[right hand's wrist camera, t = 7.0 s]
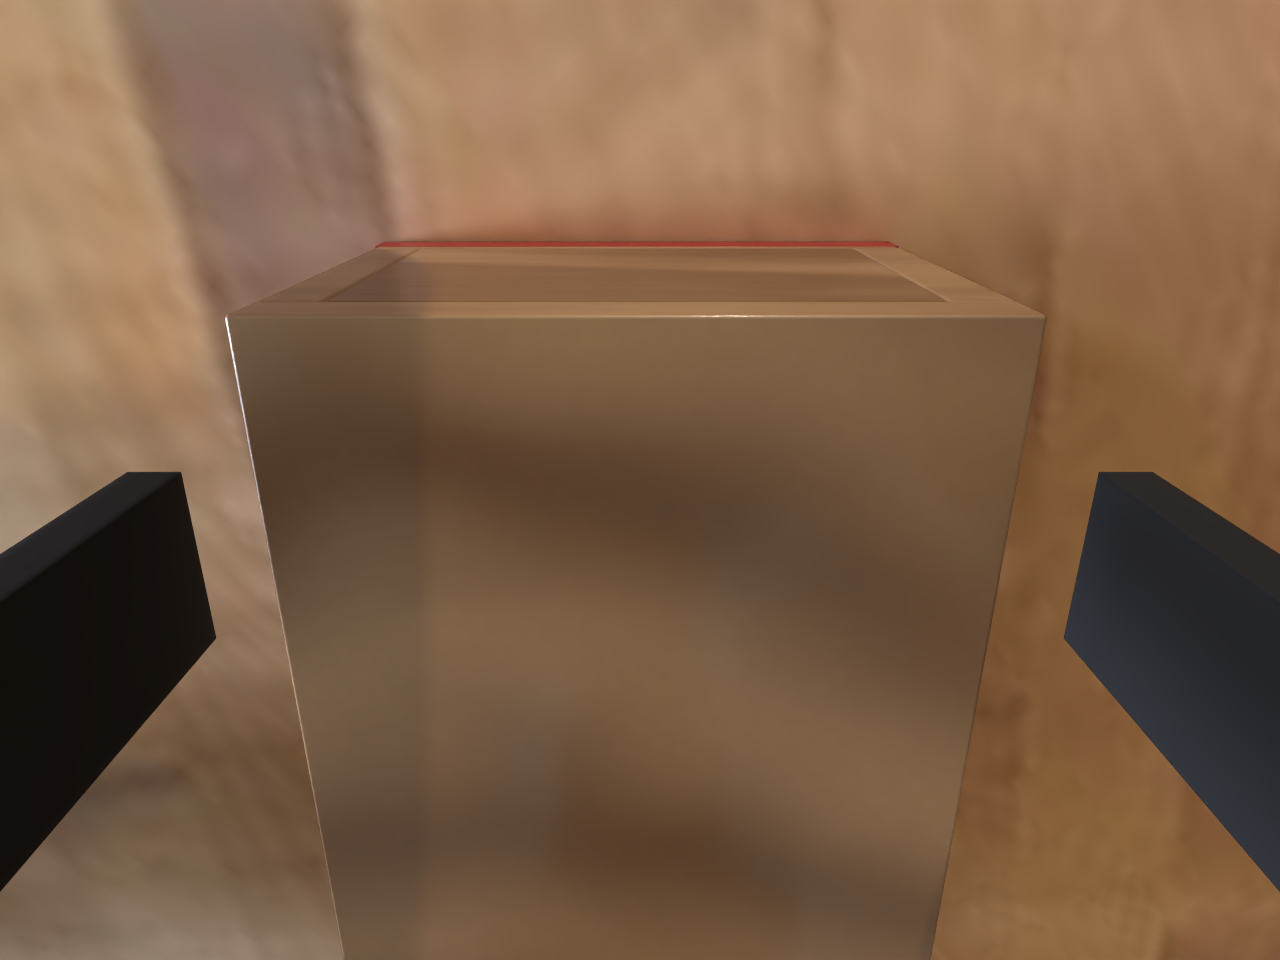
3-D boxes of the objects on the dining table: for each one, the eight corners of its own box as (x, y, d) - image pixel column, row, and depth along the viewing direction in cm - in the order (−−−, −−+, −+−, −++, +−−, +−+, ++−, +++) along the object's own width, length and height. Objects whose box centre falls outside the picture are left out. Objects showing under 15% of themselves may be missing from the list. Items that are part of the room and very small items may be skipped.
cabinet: (817, 909, 27) (886, 1210, 20) (458, 909, 27) (388, 1211, 20) (888, 241, 19) (1050, 314, 12) (384, 241, 19) (221, 314, 12)
